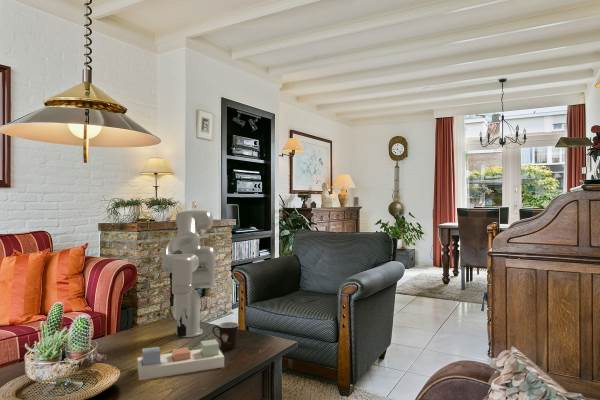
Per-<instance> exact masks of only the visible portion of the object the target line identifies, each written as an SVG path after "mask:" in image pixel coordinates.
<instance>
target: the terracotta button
mask: <svg viewBox="0 0 600 400" xmlns="http://www.w3.org/2000/svg"><path fill="white" fill-rule="evenodd" d="M171 353H172V359H173V361H180V360H187V359H190V349H189V347H187V346H186V347H180V348H173V349H172V350H171Z"/></svg>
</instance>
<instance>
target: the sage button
mask: <svg viewBox="0 0 600 400" xmlns="http://www.w3.org/2000/svg"><path fill="white" fill-rule="evenodd" d="M200 349H201V355H202V357H208V356H215V355H219V350H220V343H219V342H218V341H217V339H209V340H201V341H200Z"/></svg>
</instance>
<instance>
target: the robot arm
mask: <svg viewBox="0 0 600 400" xmlns="http://www.w3.org/2000/svg"><path fill="white" fill-rule="evenodd" d="M175 222H176V226H177V233H176V235H175V236H173V238H171V239H170V240H169V241H168V242H167V243H166V245H165V247H164V249H163V253H162V260H161V268H162V270H163V271H164V272H165V273H170V274H171V294H172V295H173V306H172V307H173V308H172V315H173V317H174V320H175V321H176V322H177V325H176V331H175V335H176V337H178V338H193V337H198V336H201V335H202V334H203V333H204V331H203V329H202V328H200V323H201V322H200V321H201V320H200V319H201V317H200V315H201V313H200V312H201V310H200V309H201V297H200V295H199V293H198V291H197V290H196V289H210V288H213V287H214V286H215V282H216V253H215V252H216V251H215V250H214V248H213V247H212V246H205V245H203V246H201V245H200V243H201V240H200V239H201V237H200V234H199V232H198V230H210V229H211V228H212V227H213V225H214V224H213V223H214V215H213V213H212V212H211V211H209V210H185V211H180V212H179V211H178V213H177V214H175ZM179 250H181V253H175V252H177V251H179ZM199 267H203V268H199ZM204 267H205V268H204Z"/></svg>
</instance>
